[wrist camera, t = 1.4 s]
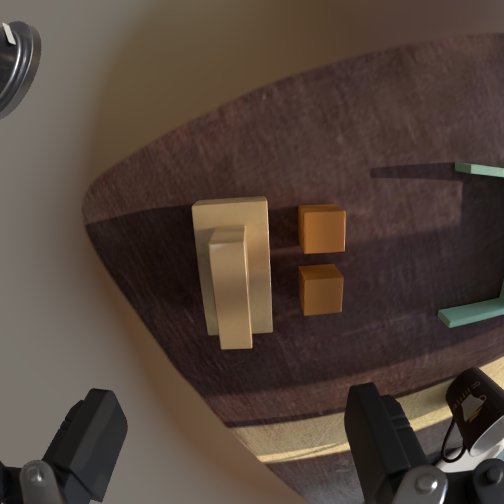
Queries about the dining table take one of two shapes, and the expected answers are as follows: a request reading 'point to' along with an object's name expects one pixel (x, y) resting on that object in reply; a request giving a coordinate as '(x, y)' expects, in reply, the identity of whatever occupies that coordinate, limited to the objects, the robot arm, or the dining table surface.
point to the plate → (468, 459)
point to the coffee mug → (475, 413)
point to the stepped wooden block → (234, 268)
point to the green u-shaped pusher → (484, 308)
